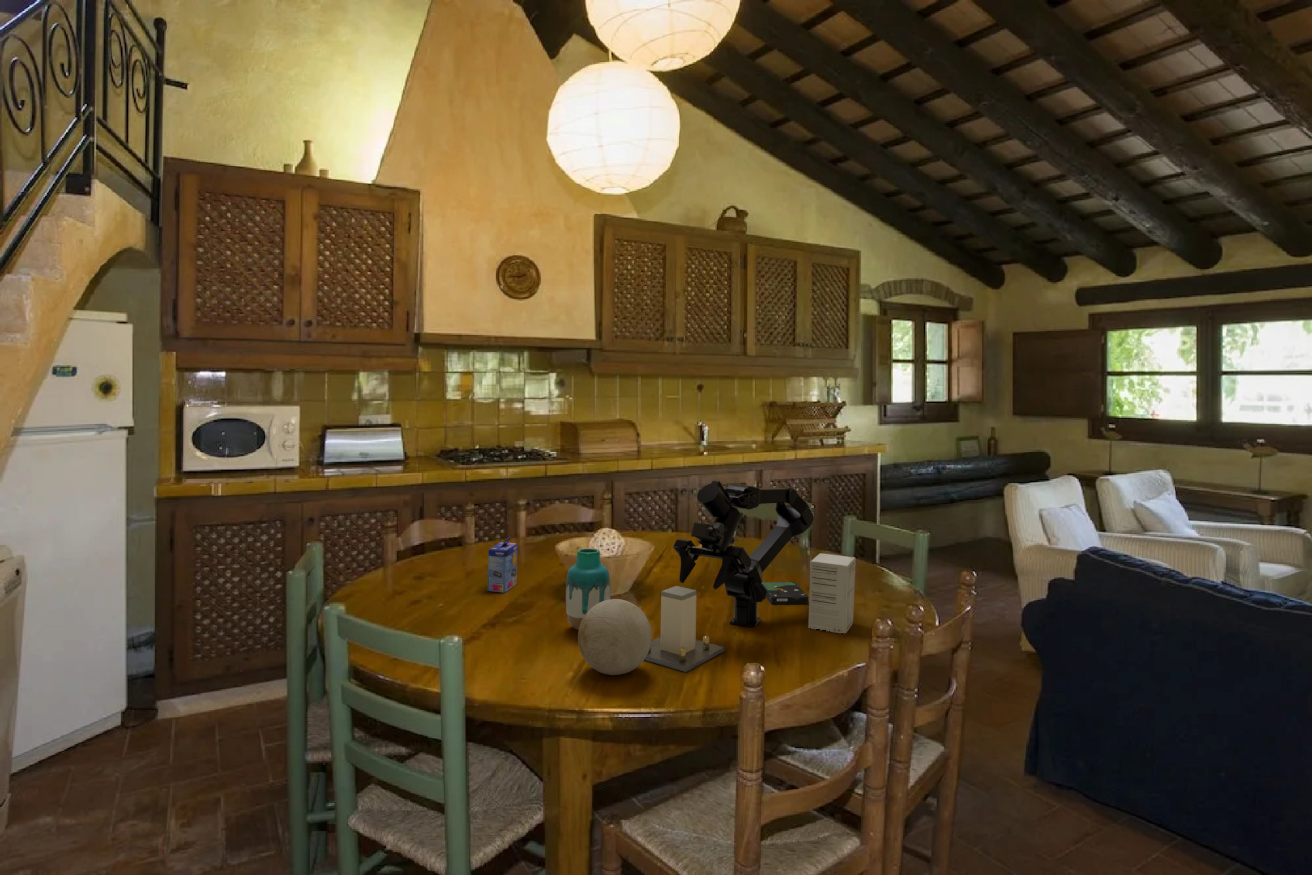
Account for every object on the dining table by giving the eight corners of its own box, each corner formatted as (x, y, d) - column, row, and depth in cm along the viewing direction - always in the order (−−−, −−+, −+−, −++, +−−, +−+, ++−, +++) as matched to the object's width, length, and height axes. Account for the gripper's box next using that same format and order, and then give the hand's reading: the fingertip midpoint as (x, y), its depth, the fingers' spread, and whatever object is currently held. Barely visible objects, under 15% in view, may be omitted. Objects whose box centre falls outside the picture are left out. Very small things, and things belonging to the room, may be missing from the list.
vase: (557, 633, 178) (558, 553, 176) (577, 619, 187) (578, 543, 186) (598, 639, 174) (599, 557, 172) (617, 625, 184) (617, 547, 182)
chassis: (668, 636, 176) (668, 622, 176) (723, 651, 167) (724, 636, 167) (628, 655, 164) (628, 639, 164) (686, 672, 155) (686, 655, 155)
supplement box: (817, 617, 192) (819, 552, 190) (853, 623, 188) (856, 556, 186) (807, 628, 183) (809, 560, 182) (845, 634, 179) (848, 565, 178)
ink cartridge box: (505, 593, 209) (505, 541, 208) (486, 592, 210) (486, 540, 209) (518, 583, 219) (518, 534, 218) (500, 582, 220) (499, 533, 218)
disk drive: (809, 606, 203) (794, 590, 218) (809, 596, 203) (794, 580, 217) (771, 607, 202) (759, 590, 217) (771, 596, 202) (759, 580, 217)
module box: (675, 642, 170) (676, 585, 168) (695, 648, 166) (696, 590, 165) (660, 649, 165) (661, 591, 164) (680, 655, 162) (681, 595, 161)
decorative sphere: (653, 686, 148) (654, 611, 147) (576, 687, 147) (577, 612, 146) (648, 657, 163) (649, 589, 162) (578, 659, 162) (578, 590, 160)
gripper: (676, 505, 179) (648, 560, 171) (744, 512, 168) (717, 571, 160) (696, 532, 186) (670, 586, 178) (762, 540, 175) (737, 599, 167)
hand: (697, 585), depth 171 cm, fingers open, 9 cm apart
